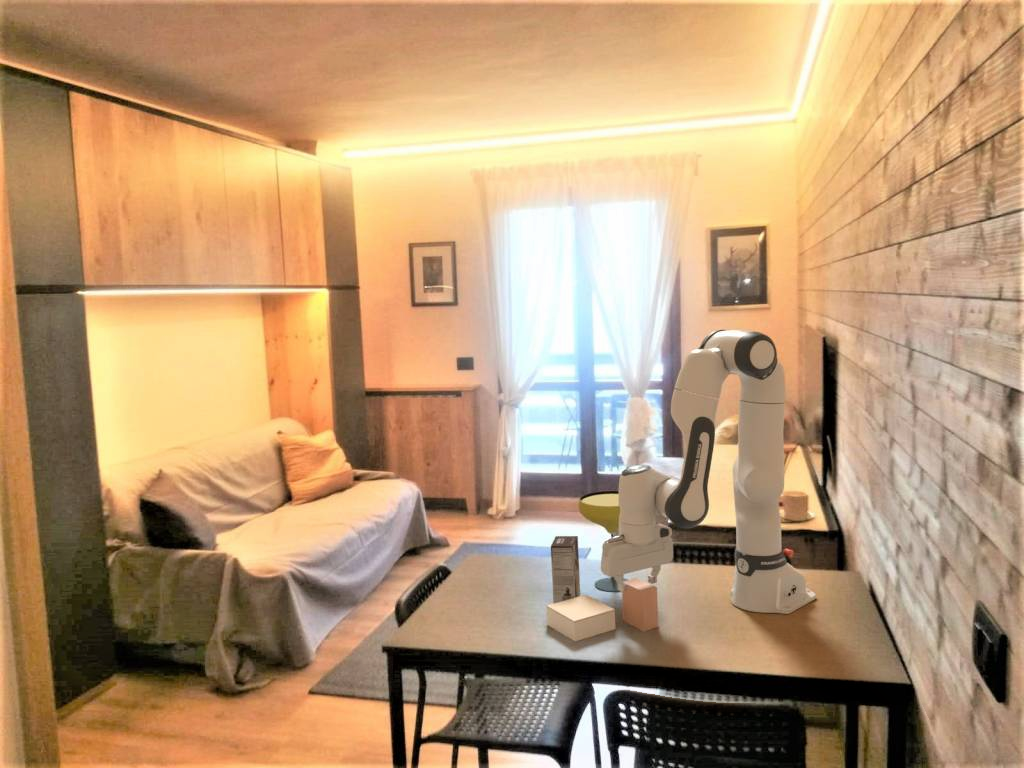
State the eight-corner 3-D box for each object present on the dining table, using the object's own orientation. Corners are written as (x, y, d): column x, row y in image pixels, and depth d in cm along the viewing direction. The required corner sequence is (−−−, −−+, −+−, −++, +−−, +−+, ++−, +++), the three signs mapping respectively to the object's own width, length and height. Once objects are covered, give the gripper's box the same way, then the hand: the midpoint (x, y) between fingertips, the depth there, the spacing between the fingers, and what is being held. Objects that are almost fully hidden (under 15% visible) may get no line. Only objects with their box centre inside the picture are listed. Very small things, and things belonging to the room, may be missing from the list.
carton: (637, 616, 196) (636, 578, 195) (658, 626, 189) (657, 587, 188) (623, 620, 193) (621, 581, 192) (643, 631, 186) (642, 591, 185)
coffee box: (557, 591, 215) (555, 535, 214) (580, 592, 214) (578, 535, 212) (552, 604, 206) (550, 545, 205) (576, 604, 205) (574, 545, 203)
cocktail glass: (585, 573, 229) (582, 490, 226) (647, 574, 225) (644, 490, 223) (578, 595, 211) (574, 506, 209) (645, 597, 207) (642, 506, 205)
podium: (586, 613, 199) (586, 594, 198) (615, 629, 188) (614, 609, 188) (547, 624, 193) (546, 605, 192) (574, 641, 182) (574, 621, 182)
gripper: (610, 542, 181) (611, 599, 182) (677, 527, 191) (677, 582, 192) (594, 536, 186) (595, 591, 187) (660, 522, 196) (660, 574, 198)
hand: (637, 586), depth 190 cm, fingers open, 8 cm apart
